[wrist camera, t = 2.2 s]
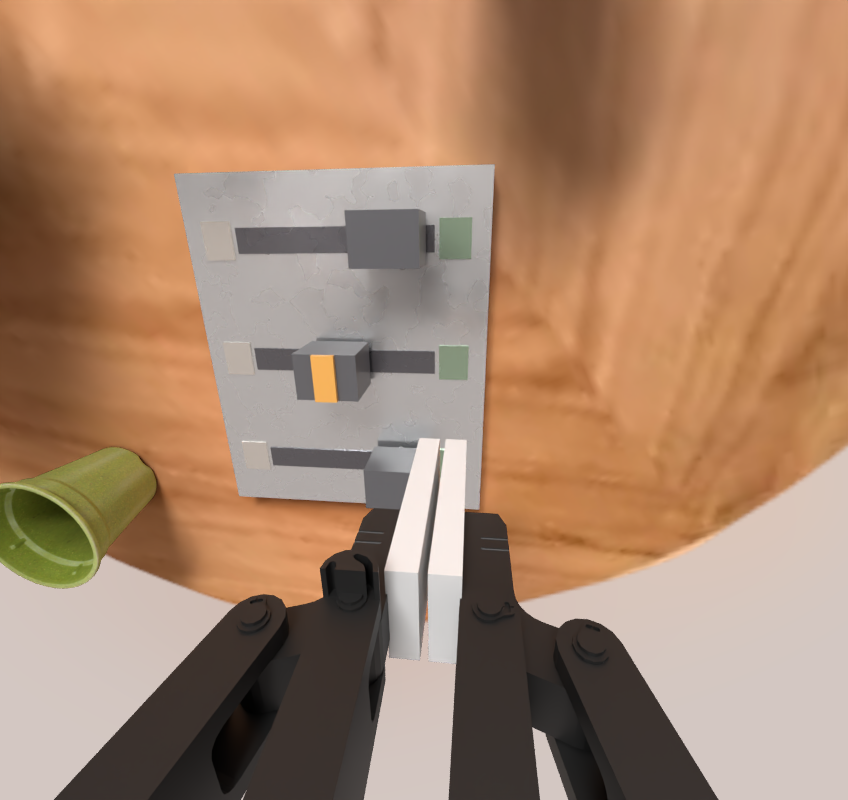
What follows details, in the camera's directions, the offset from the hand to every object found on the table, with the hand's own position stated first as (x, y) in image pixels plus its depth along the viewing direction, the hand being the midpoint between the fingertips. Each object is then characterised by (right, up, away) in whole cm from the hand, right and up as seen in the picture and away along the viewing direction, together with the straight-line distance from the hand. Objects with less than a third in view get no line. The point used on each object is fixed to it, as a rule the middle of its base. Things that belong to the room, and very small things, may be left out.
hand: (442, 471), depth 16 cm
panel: (-6, +6, +16) cm, 18 cm away
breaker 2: (-3, +13, +10) cm, 17 cm away
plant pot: (-28, -4, +23) cm, 36 cm away
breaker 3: (-2, -2, +16) cm, 17 cm away
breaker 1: (-6, +5, +14) cm, 16 cm away
